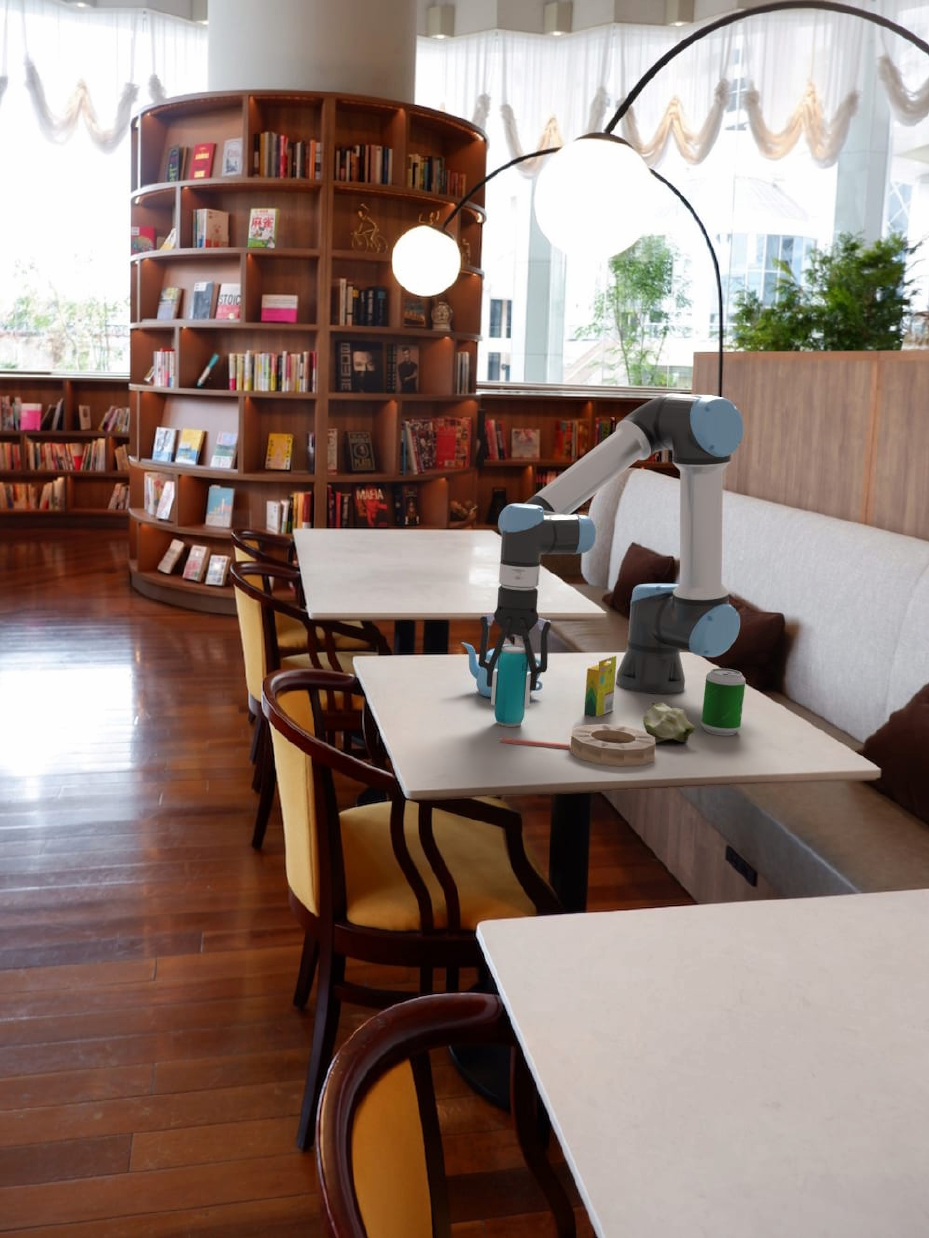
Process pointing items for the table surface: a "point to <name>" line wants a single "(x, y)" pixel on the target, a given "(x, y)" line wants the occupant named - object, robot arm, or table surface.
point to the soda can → (723, 701)
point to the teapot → (481, 672)
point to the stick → (535, 743)
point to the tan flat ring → (612, 745)
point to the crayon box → (600, 688)
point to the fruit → (667, 723)
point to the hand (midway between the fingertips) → (510, 704)
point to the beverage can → (511, 686)
